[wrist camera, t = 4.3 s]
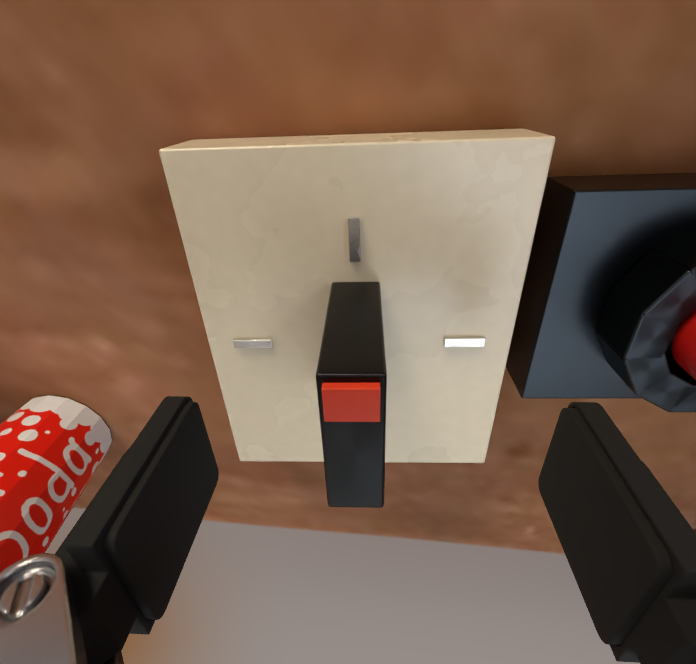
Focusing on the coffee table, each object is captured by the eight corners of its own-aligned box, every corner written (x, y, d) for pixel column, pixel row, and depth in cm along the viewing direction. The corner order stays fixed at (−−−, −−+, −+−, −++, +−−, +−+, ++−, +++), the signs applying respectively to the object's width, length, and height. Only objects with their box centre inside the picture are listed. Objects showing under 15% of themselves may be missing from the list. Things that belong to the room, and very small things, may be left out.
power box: (504, 365, 18) (538, 432, 14) (546, 176, 13) (607, 206, 10) (739, 364, 17) (832, 433, 14) (858, 168, 13) (1033, 196, 10)
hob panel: (252, 422, 20) (238, 464, 18) (190, 139, 13) (154, 149, 11) (472, 422, 20) (486, 466, 17) (525, 128, 13) (559, 136, 10)
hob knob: (378, 393, 15) (384, 517, 11) (338, 393, 16) (327, 515, 11) (380, 280, 13) (387, 381, 8) (331, 281, 13) (313, 381, 9)
